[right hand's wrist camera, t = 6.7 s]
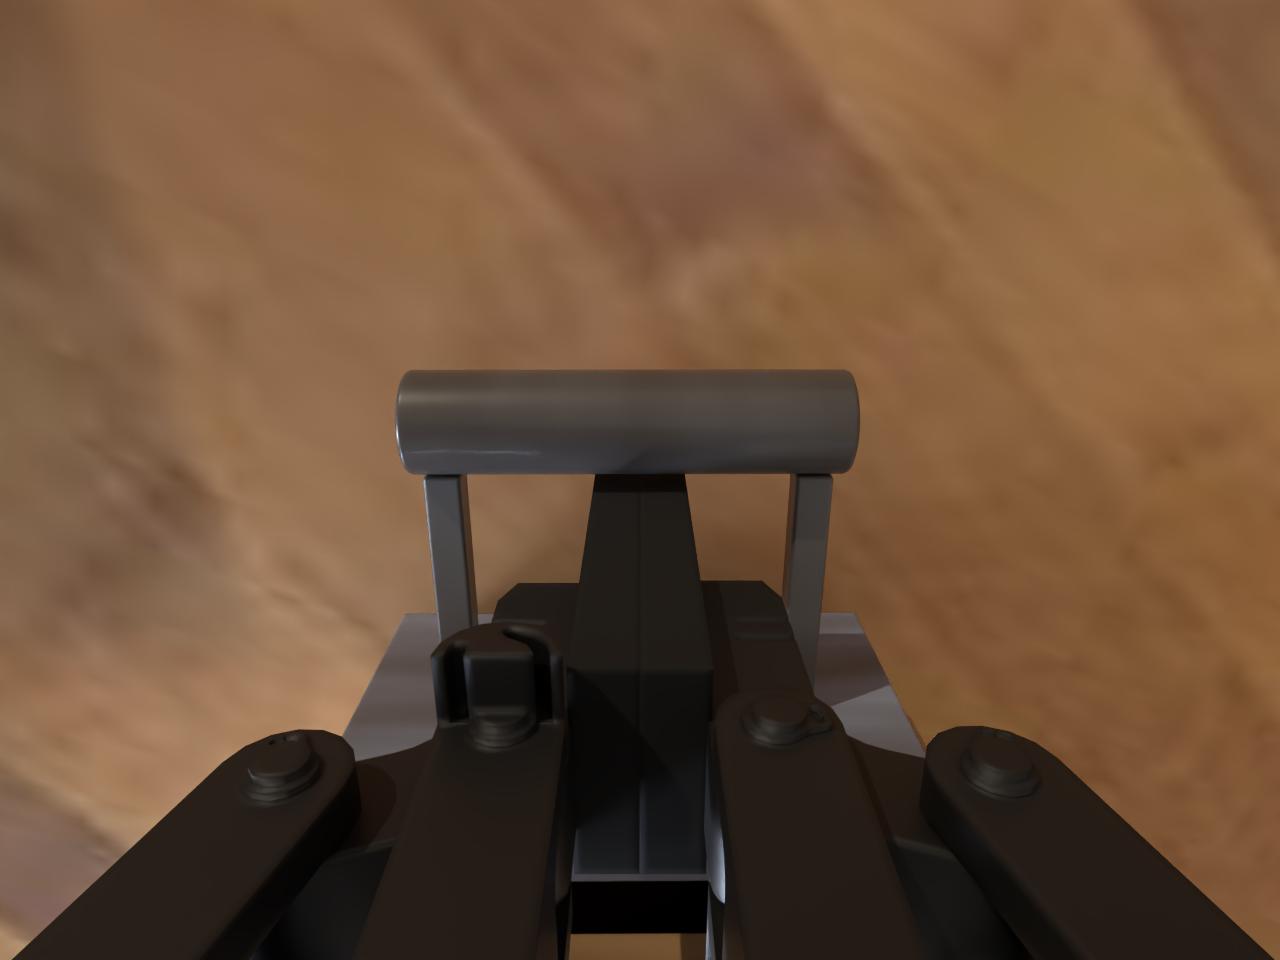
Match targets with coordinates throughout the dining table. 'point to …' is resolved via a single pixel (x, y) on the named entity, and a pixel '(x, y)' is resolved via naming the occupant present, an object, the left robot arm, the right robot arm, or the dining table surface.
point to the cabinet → (638, 946)
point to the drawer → (629, 444)
